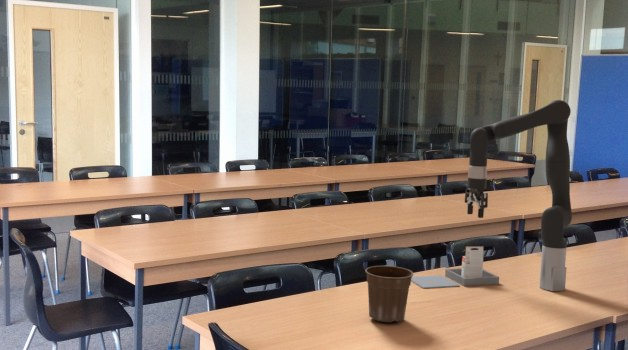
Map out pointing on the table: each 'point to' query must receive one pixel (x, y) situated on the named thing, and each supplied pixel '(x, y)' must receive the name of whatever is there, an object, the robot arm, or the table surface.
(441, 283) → the slate mat
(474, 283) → the desk holder
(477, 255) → the ink box
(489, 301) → the table surface
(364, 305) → the table surface
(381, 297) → the plant pot
